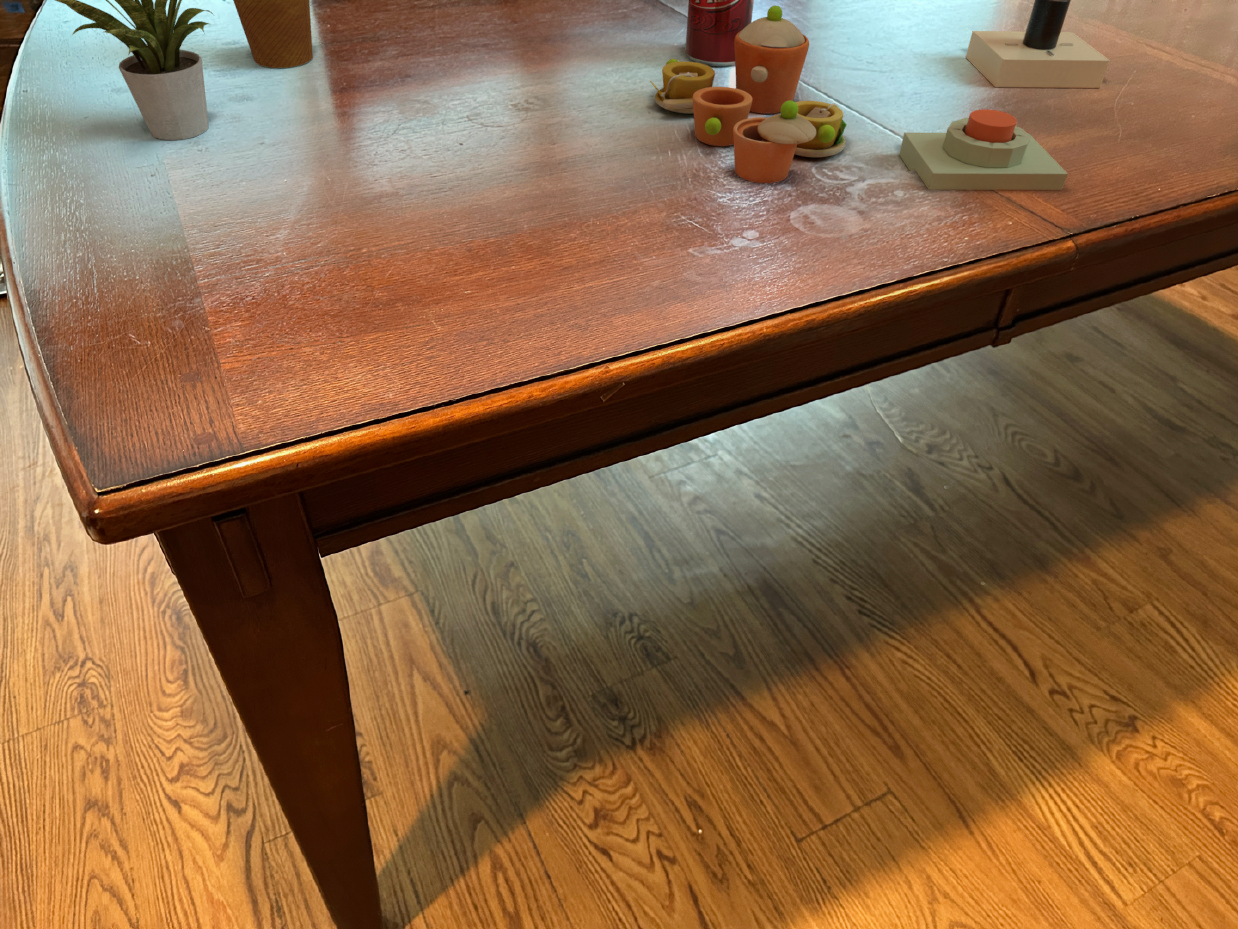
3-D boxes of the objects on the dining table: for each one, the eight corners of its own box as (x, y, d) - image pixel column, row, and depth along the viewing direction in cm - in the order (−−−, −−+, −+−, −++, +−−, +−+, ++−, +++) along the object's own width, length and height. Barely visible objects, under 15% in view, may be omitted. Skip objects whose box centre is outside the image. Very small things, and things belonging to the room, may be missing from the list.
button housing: (1021, 155, 89) (1035, 113, 86) (1059, 197, 82) (1075, 153, 80) (898, 154, 88) (908, 112, 86) (926, 196, 82) (938, 152, 79)
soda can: (713, 43, 112) (722, -70, 104) (760, 58, 108) (773, -57, 101) (671, 56, 108) (678, -60, 100) (719, 72, 104) (730, -47, 97)
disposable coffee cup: (222, 58, 104) (192, -63, 96) (295, 39, 109) (272, -77, 101) (271, 79, 99) (245, -46, 91) (345, 59, 105) (325, -61, 97)
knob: (1048, 39, 107) (1064, -11, 103) (1061, 49, 104) (1077, -2, 100) (1017, 39, 106) (1032, -12, 103) (1029, 49, 104) (1045, -3, 100)
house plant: (205, 87, 97) (158, -92, 86) (294, 119, 91) (255, -69, 81) (77, 128, 88) (6, -66, 78) (166, 166, 82) (103, -38, 72)
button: (1001, 128, 85) (1007, 109, 84) (1017, 146, 82) (1023, 126, 81) (958, 128, 84) (963, 108, 83) (973, 145, 81) (978, 126, 80)
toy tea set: (639, 95, 99) (642, -4, 92) (773, 83, 102) (785, -13, 96) (733, 201, 80) (746, 87, 74) (893, 182, 84) (918, 72, 77)
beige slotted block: (1063, 58, 111) (1072, 30, 109) (1100, 87, 104) (1110, 58, 102) (965, 57, 111) (972, 29, 109) (995, 87, 103) (1003, 57, 101)
